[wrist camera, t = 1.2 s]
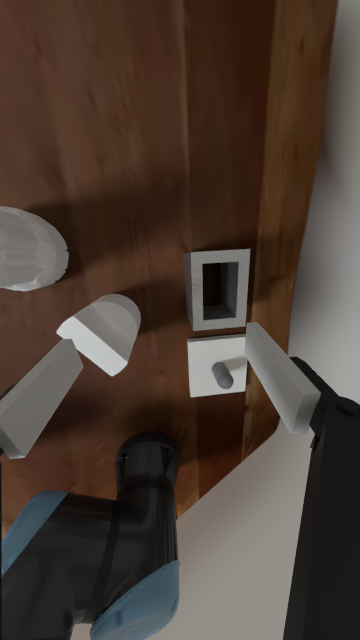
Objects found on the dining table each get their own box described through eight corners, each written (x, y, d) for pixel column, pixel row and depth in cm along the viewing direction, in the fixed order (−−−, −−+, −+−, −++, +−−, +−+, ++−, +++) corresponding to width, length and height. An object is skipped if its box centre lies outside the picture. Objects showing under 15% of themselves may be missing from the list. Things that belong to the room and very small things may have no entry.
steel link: (227, 311, 36) (245, 326, 28) (186, 315, 35) (193, 330, 27) (229, 251, 32) (250, 248, 25) (183, 253, 31) (190, 252, 24)
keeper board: (242, 386, 42) (257, 410, 35) (189, 392, 41) (195, 418, 34) (245, 333, 38) (263, 349, 31) (187, 339, 37) (193, 356, 30)
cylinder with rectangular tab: (151, 319, 35) (146, 349, 23) (117, 349, 36) (97, 391, 25) (114, 283, 32) (89, 297, 21) (79, 316, 33) (37, 347, 22)
